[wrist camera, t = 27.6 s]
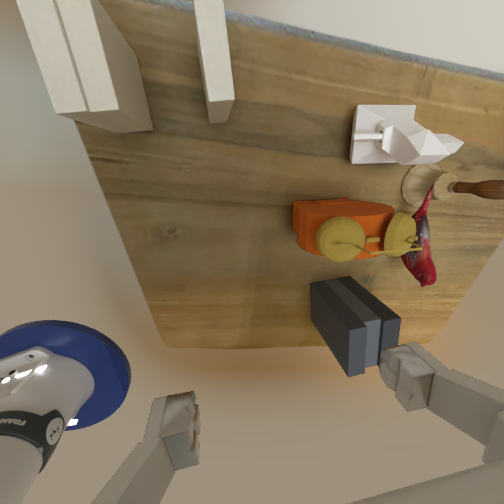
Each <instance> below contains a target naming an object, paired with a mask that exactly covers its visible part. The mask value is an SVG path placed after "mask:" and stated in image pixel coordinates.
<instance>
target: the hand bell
mask: <svg viewBox="0 0 504 504" xmlns="http://www.w3.org/2000/svg"><path fill="white" fill-rule="evenodd" d="M432 185H433V191H432V195H431V198H430V201H429V203H430V202H432V201H433V200H445V199H448V198H450V197H451V196H452V195H454V193H471V194H474V195H477V196H479V197H482V198H487V199H495V200H500V199H504V180H488V181H482V182H478V183H468V182H459V181H458V178H457V176H456V175H455V174H453V173H450V172H444V171H442V169H441V167H440V166H439V165H438V164H437V163H433V164H422V165H414V166H413V167H412V168H411V169H410V170H409V171H408V172H407V174H406V175H405V177H404V179H403V182H402V188H401V191H402V196H403V199H404V201H405V202H406V203H407V204H409V205H410V206H413V207H420V206H421V205H422V203H423V201H424V199H425V197H426V195H427V193H428V191H429V189H430V187H431V186H432Z"/></svg>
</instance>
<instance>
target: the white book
mask: <svg viewBox="0 0 504 504" xmlns="http://www.w3.org/2000/svg"><path fill="white" fill-rule="evenodd" d="M192 2H193V11H194V19H195V28H196V37H197V46H198V54H199V60H200V67H201V73H202V79H203V86H204V92H205V99H206V105H207V111H208V118H209V124H215V123H225V122H227V119H228V117H229V114H230V111H231V109H232V106H233V103H234V100H235V95H234V86H233V78H232V70H231V62H230V53H229V45H228V37H227V28H226V20H225V12H224V3H223V0H192Z"/></svg>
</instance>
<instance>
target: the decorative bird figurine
mask: <svg viewBox="0 0 504 504" xmlns="http://www.w3.org/2000/svg"><path fill="white" fill-rule="evenodd" d="M432 191H433V185H432V186H431V187H430V189H429V191H428V193H427V195H426V197H425V199H424V201H423V203H422V205H421V207H420V208H419V209H418V211H417V212H416V213H415V214H414V215H413V216H412V218H413V219H414V220H415V223H416V235H415V236H417V237H418V239H417V241H416V240H414V242H413V243H415V244H418V245H420V246H422V247H423V248H422V250H416V251H407V252H406V253H405V254H404V255H401V258H402V261H403V263H404V265H405V266H406V268H407V269H408V270H409V271H410V272H411V273H412V274H413V276H414V277H415V278H416V279H417V280H418V281H419V282H420V284H421V287H424V286H425V285H431V284H433V283H435V281H436V269H435V266H434V263H433V261H432V258H431V251H430V233H429V225H428V220H427V216H426V211H427V208H428V205H429V201H430V198H431V195H432ZM410 248H418V247H416V246H414V245H412V246H411V247H410Z"/></svg>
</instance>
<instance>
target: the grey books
mask: <svg viewBox="0 0 504 504" xmlns="http://www.w3.org/2000/svg"><path fill="white" fill-rule="evenodd" d="M310 287H311V318H312V322H313V323H314V325H315V327H316V328H317V330H318V331H319V333H320V334H321V336H322V337H323V339H324V341H325V342H326V344H327V345H328V347H329V348H330V350H331V351H332V353H333V355H334V356H335V358H336V359H337V361H338V362H339V364H340V365H341V367H342V369H343V370H344V372H345V373H346V375H347V376H348V377H351V376H355V375H360V374H364V373H365V368H366V367H370V366H375V365H378V367H379V364H380V363H381V361H382V360H383V359H382V358H381V357H380V353H381V350H382V349H385V348H389V347H394V346H398V339H399V331H400V323H401V317H399V316H398V315H397V314H396V313H394V312H393V311H392V310H391V309H390V308H388V307H387V306H386V305H385V304H383V303H382V302H381V301H380V300H378V299H377V298H376V297H375V296H373V295H372V294H371V293H370V292H368V291H367V290H366V289H365V288H364V287H362V286H361V285H360V284H359V283H357V282H356V281H355V280H354V279H352V278H351V277H350V276H348V277H342V278H337V279H331V280H326V281H321V282H315V283H310Z"/></svg>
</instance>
